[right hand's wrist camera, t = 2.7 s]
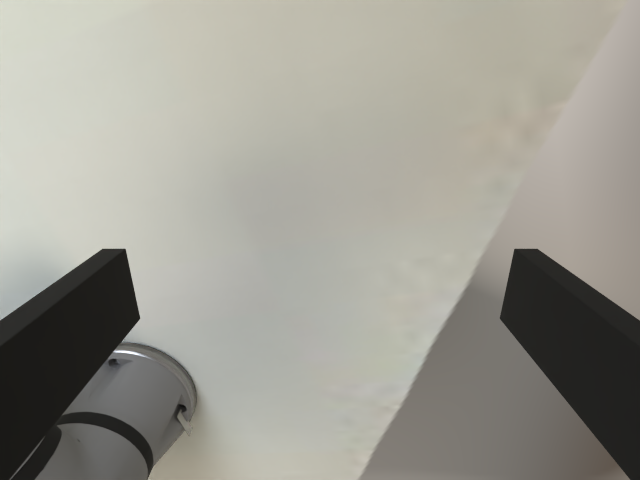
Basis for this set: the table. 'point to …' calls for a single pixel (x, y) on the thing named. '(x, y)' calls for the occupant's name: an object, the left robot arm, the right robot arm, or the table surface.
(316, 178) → the table surface
